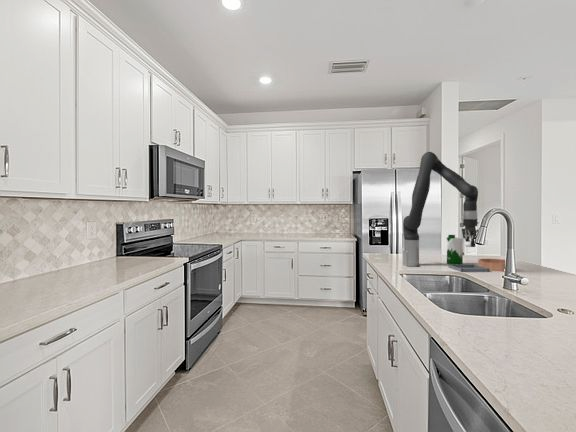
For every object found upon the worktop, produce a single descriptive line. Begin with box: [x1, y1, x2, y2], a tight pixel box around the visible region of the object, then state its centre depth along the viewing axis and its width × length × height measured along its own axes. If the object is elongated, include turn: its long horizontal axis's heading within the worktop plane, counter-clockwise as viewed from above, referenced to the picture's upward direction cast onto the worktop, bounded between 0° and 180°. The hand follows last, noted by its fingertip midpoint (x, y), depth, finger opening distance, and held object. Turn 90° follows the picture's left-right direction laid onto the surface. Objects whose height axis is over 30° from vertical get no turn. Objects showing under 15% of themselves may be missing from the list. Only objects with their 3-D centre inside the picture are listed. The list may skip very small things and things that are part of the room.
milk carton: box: [445, 234, 464, 265], centre depth 209 cm, size 9×9×20 cm
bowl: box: [477, 258, 506, 273], centre depth 191 cm, size 18×18×6 cm
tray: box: [448, 263, 491, 273], centre depth 189 cm, size 16×14×2 cm
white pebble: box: [465, 240, 472, 248], centre depth 189 cm, size 5×5×3 cm
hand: (470, 246), depth 189 cm, fingers closed on white pebble, 5 cm apart
